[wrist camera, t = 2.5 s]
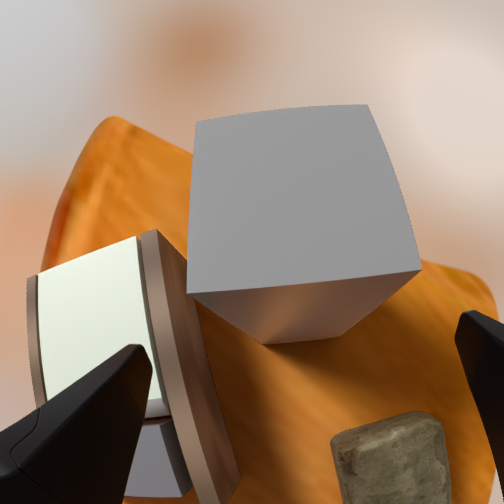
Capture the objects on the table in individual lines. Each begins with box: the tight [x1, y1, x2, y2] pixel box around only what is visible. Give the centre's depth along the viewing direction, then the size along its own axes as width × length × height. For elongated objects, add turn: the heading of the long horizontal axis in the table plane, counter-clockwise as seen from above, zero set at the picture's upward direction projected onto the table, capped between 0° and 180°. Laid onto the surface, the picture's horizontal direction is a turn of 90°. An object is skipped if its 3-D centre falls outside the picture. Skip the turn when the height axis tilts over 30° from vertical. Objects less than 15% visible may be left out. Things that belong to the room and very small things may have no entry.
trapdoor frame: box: [27, 229, 242, 504], centre depth 15 cm, size 15×11×5 cm
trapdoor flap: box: [38, 236, 193, 497], centre depth 15 cm, size 14×8×4 cm, turn 15°
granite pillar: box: [187, 105, 422, 345], centre depth 12 cm, size 5×5×13 cm
